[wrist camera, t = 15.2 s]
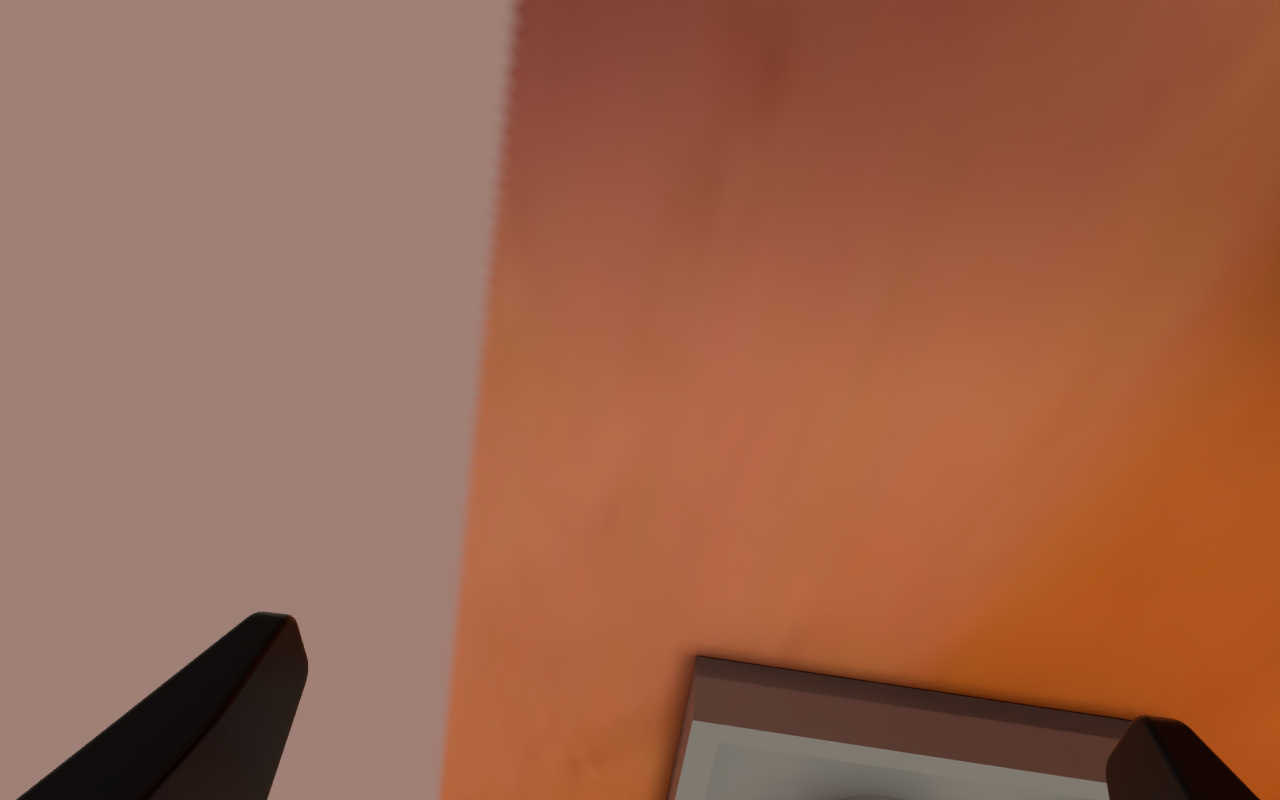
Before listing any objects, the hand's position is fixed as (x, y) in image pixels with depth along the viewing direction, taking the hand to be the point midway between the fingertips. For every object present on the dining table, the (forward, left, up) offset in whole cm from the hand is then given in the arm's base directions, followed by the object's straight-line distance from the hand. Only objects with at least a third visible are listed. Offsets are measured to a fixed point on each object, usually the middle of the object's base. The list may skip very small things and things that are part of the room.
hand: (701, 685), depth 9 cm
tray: (-9, +24, -13) cm, 29 cm away
